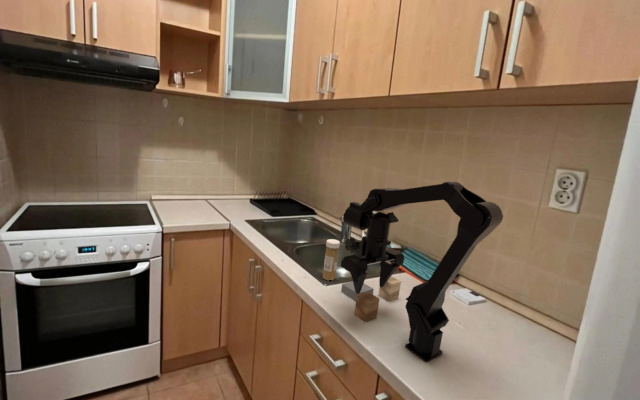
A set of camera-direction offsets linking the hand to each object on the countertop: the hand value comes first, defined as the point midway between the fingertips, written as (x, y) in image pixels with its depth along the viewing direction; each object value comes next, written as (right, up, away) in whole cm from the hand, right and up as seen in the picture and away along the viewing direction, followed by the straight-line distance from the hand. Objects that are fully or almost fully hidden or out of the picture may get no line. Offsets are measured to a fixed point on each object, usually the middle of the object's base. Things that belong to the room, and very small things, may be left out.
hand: (369, 289), depth 93 cm
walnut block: (-1, -8, +2) cm, 8 cm away
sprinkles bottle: (-10, -2, +24) cm, 26 cm away
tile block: (-2, -5, +15) cm, 16 cm away
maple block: (+8, -6, +15) cm, 18 cm away
